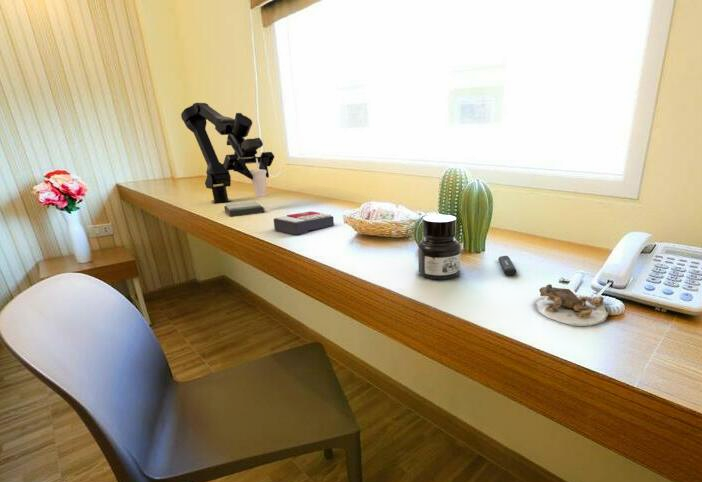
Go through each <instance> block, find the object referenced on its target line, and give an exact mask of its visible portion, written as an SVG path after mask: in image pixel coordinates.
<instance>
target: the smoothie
mask: <svg viewBox="0 0 702 482" xmlns="http://www.w3.org/2000/svg"><path fill="white" fill-rule="evenodd" d="M255 164H256V169H250V170H249V171H250V173H251V174H252V176H253V180H251V183H252V187H253V190H254V194H255V197H256V198H265V197H267V177H266V173H267V172H266V170H263V169H259V166H260V165H259V164H258V159H257V158H256V163H255Z"/></svg>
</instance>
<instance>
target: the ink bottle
mask: <svg viewBox="0 0 702 482" xmlns="http://www.w3.org/2000/svg"><path fill="white" fill-rule="evenodd" d="M422 232H423V233H422V234H423V238H422V240H420V241H419V243H418V245H417V246H418V247H417V249H418V250H417V254H418V255H417V256H418V257H417V258H418V260H417V262H418V273H419V275H420V276H421V277H423V278H426V279H429V280H437V281H438V280H440V281H441V280H449V279H453V278H456V277H458V276H459V275H460V274H461V259H462V258H461V257H462V245H461V243H460V242H459V240H457V238H456V236H457V217H456V216H454V215H450V214H431V215H426V216H424V217H423V218H422Z"/></svg>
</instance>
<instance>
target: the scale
mask: <svg viewBox="0 0 702 482" xmlns="http://www.w3.org/2000/svg"><path fill="white" fill-rule="evenodd" d="M223 207H224V211H225V213H226V214H227V215H228V216H229V217H238V216H239V217H240V216H247V215H255V214H265V208H264V206H262V205H261V204H260V203H258V202H257V201H255V200H254V201H246V202H245V201H244V202H236V203H227V204H225V205H224V206H223Z"/></svg>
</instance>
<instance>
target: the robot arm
mask: <svg viewBox="0 0 702 482" xmlns="http://www.w3.org/2000/svg"><path fill="white" fill-rule="evenodd" d="M180 116H181V117H180V118H181V120H182V121H183V123H184V125H185V127H186V128H187V129H188V130H189V131H191V132H192V133H193V135H194V137H195V140H196V142H197V145H198V147H199V149H200V151H201V154H202V157H203V159H204V161H205V163H206V165H207V166H206V175H207V176H206V179H205V181H204V185H205V188H206V189H210V190H211V192H212V193H211V194H212V197H213V199H212V201H211V202H213V203H214V204H218V203H219V204H220V203H229V202H231V199H229V196H228V190H227V188H228V187H231V185H232V183H231V181H232V180H231V179H232V176H231V174H230V171H233V172H237V173H238V174H240V175H243V176H245V177H246V178H248V179H249V180H251V181H252V180H253V176H252V174H251V173H250V171H249V167H248V166H247V165H250V164H257V163H256V158H257V159H258V166H259V169H263V170H266V172H267V173H266V179H268V178H269V177H270V174H269V169H268V167H271V166H272V164H273V161H274V158H275V154H274V153H273V152H272V151H262V152H261V154H260V156H256V155H258V151H257V150H258V149H260V148H262V147H263V146H264V143H263V141H262V139H261V138H260V137H255V138H246V137H248V136H249V134H250V131H251V128H252V126H253V121H252V119H251V118H249V117H248V116H247V115H244V114H243V113H242V112H236V113H235V117H234V118H232V117H229V116H224V115H222V114H221V113H220V112H218V111H217V110H216V109H214V108H212V107H211V106H210V105H209V104H208V103H206V102H194V103H193V104H192V105H190V106H188V107H186V108H184V109H183V110H182V111H181V114H180ZM207 121H208V122H210V123H211V124H212V125H213V126H214V129H215V130H216V132H217V133H218V134H219V135H220V136H227V138H226V146H231V148H232V149H233V151H234V153H231V154H226V155H225V157H224V159H223V163H221V161H220V160H219V158H218V155H217V153H216V150H215V148H214V146H213V144H212V141H211V139H210V137H209V134H208V132H207V130H206V127H207Z"/></svg>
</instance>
